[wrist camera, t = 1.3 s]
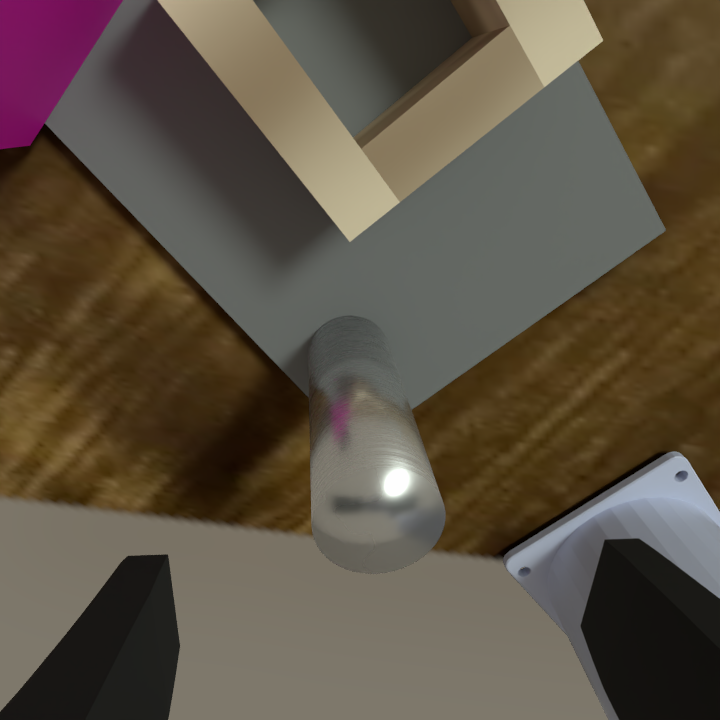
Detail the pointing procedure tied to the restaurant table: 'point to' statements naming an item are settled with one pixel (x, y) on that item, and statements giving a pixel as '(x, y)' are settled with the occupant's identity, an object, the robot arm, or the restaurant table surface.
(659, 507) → the robot arm
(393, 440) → the metal pin
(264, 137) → the charcoal mat
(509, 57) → the birch square frame
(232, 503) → the restaurant table surface
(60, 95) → the toy block
